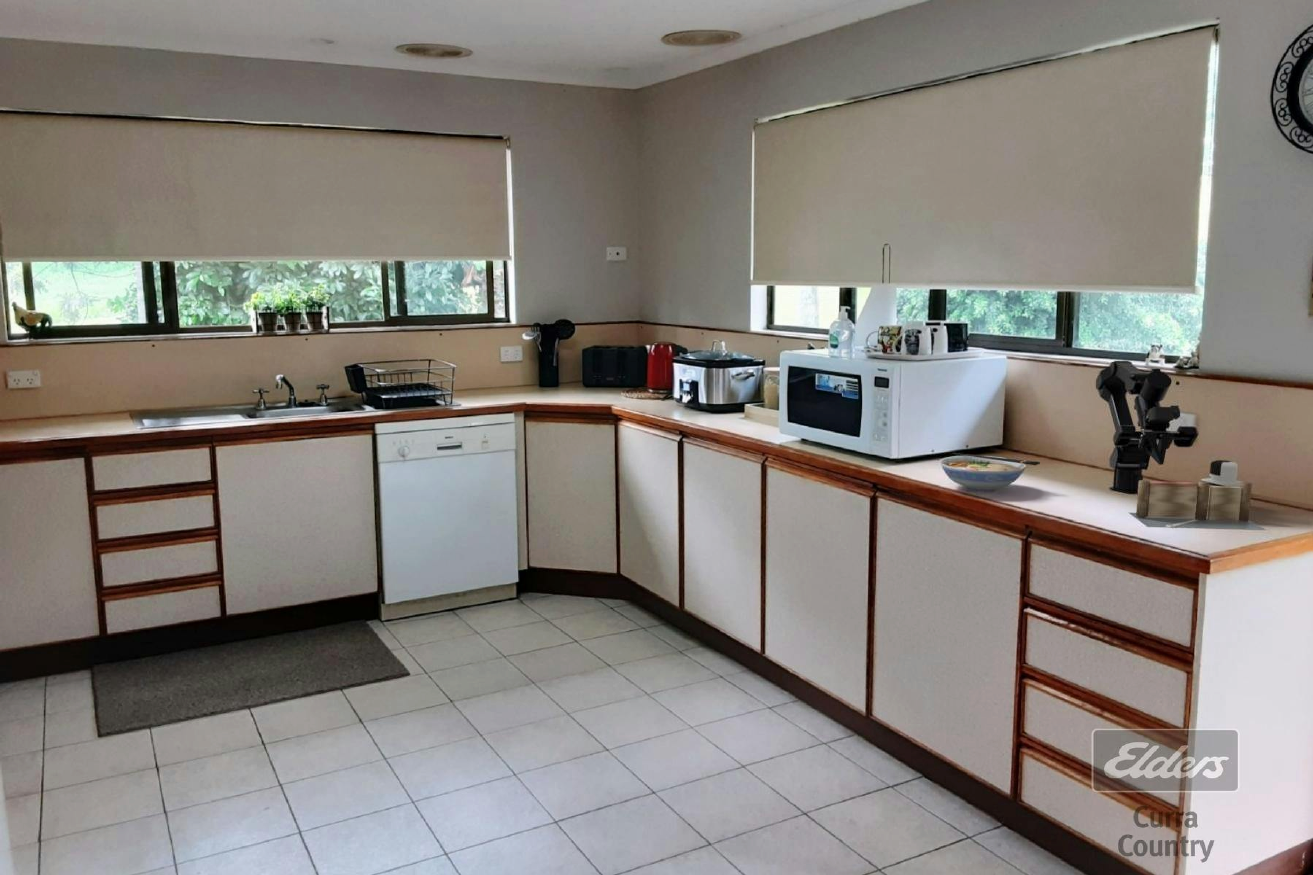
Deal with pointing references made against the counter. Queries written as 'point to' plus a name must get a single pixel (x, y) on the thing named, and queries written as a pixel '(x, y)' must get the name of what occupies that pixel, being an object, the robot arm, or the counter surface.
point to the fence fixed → (1223, 502)
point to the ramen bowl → (983, 471)
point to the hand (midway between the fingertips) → (1161, 463)
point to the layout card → (1196, 523)
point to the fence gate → (1166, 499)
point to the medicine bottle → (1223, 474)
